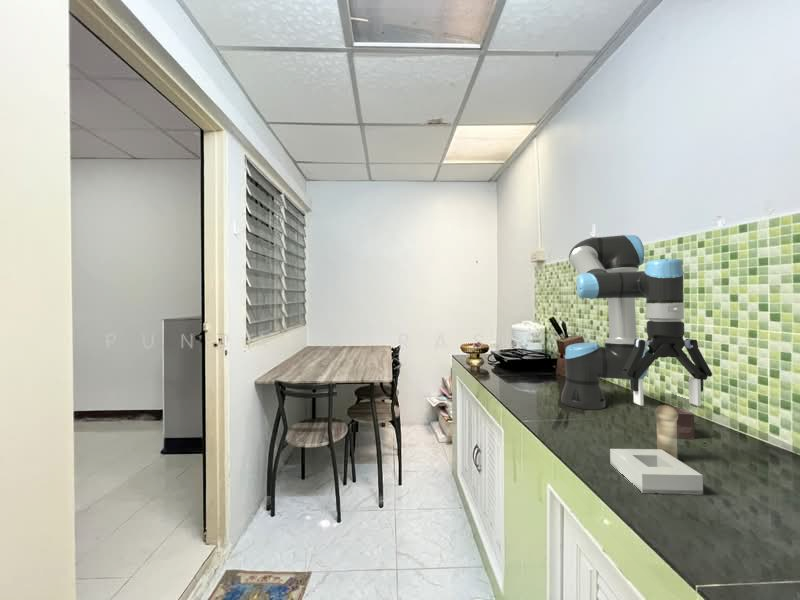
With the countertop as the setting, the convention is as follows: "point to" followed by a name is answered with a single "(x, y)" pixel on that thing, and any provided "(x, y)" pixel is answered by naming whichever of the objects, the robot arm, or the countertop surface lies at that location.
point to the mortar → (656, 471)
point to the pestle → (667, 429)
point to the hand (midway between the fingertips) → (666, 404)
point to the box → (685, 423)
